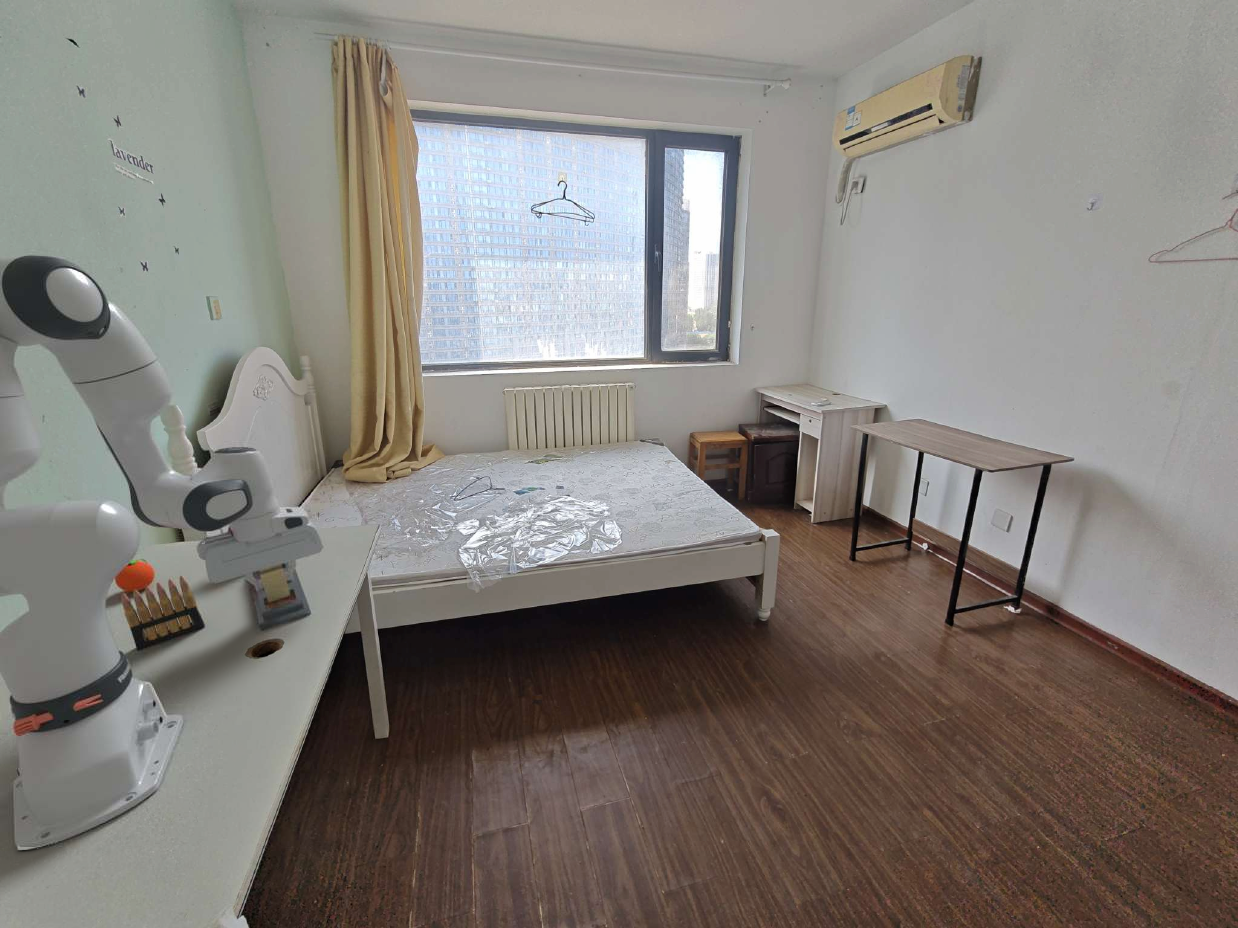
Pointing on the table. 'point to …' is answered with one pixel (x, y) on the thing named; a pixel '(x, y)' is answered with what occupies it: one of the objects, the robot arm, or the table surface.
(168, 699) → the table surface
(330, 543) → the table surface
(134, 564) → the clementine
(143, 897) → the table surface
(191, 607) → the ammunition clip
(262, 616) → the slotted tray
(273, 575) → the tan rectangular block
